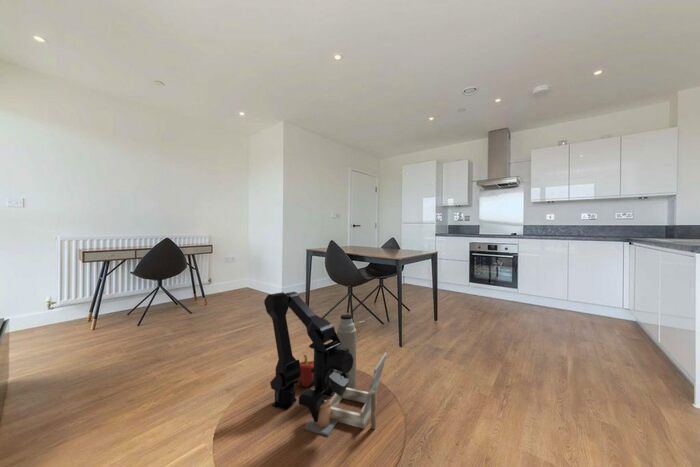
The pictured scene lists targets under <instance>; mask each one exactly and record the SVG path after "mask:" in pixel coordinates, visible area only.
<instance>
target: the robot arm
mask: <svg viewBox="0 0 700 467" xmlns="http://www.w3.org/2000/svg"><path fill="white" fill-rule="evenodd" d="M263 302H264V308H265V310H266V313H267V315H268V316H269V317H270V318H271V320H272V326H273V332H274V339H275V344H276V351H277V357H278V358H277V359H278V360H277V363H276V366H275V376H274V377H273V378H272V380H271V381H270V388H271V390H273V391H274V402H272V403H271V406H272V407H275V408H278V409H282V410H285V411H287V410H288V409H289V408H291V407H292V405H294V404H295V403H296V401H297V400H298V405H300V406H303V407H307V409H308V411H309V412H310V415H311V418H313V419H314V421H315V422H318V418H319V411H320V406H321V405H322V403H323V402H324V401H323V395H328V396H330V397H331V398H332V397H333V392H334V394H335V393H336V394H337V395H339V396H341V395H342V394H343V393H344V391H345V390H346V388H347V385H348V383H349V375H348V372H349V371H350V370H351V368H352V366H353V357H352V354H351V353H349V349H348V348H342V347H339V346H340V345H341V342H340V340H339V337H338V336H337V331H336V330H335V326H334V325H333V324H332V323H331V322H330V321H328V320H327V319H326V318H323V317H321V316H319V315H317V313H315V312H314V311H313V310H312V309H311V308H310V307H309V305H307V303H306V302H305V301H304V300H303V299H302V298H301V297H300V295H299V293H298V292H296V291H290V292H286V293H285V292H276V293H271V294H267V295H266V296H265V299H264V301H263ZM289 309H290V310H291V311H292V312H293V314H295V316H296V317H297V318H298V319H299V320H300V322H301V323H302V324H303V325H304V326H305V327H306V333H307V336H308V337H309V339H310V340H311V342H312V343H310V344H309V345H308V348H310V349H313V361H314V367H313V368H311V372H313V381H311V385H310V386H311V387H313V389H311V388H306V389H305V390H304V391H303V392H302V393H301V394H300V395H299V396H298V399H297V398H296V389H295V385H297V384H296V383H298V380H299V377H300V376H301V368H300V363H301V362H300V359H296V358H295V357H294V355H293V351H292V344H291V339H290V333H289V327H288V320H287V314H288V313H287V312H288V311H289ZM327 342H328V343H327ZM337 371H339V372H337ZM340 372H342V373H340Z"/></svg>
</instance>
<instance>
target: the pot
mask: <svg viewBox="0 0 700 467" xmlns="http://www.w3.org/2000/svg"><path fill="white" fill-rule="evenodd" d="M323 401H324V402H323V403H322V405H321V406H320V411H319V418H318V422H315V425H316V426H317V427H319V428H325V427H327V426H329V425H330V423H331V404H332V397H330V396H328V395H323Z"/></svg>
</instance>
